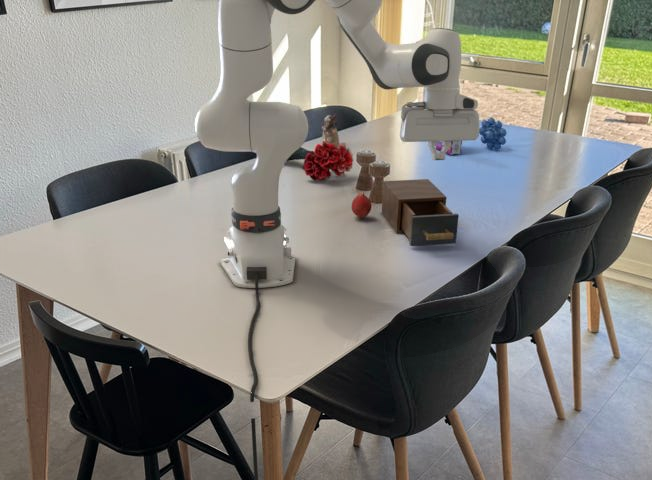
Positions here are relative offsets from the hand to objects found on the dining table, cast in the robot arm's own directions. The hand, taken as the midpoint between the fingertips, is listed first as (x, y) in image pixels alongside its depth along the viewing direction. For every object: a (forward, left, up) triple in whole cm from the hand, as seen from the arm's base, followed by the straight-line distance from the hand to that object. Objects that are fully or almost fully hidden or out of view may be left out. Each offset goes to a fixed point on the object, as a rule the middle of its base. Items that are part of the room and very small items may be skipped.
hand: (438, 160), depth 177 cm
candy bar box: (+91, -36, -23) cm, 100 cm away
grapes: (+91, -53, -23) cm, 108 cm away
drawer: (+4, 0, -22) cm, 23 cm away
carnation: (+72, +22, -23) cm, 78 cm away
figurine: (+105, +8, -23) cm, 108 cm away
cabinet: (+19, 0, -23) cm, 30 cm away
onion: (+24, +14, -23) cm, 36 cm away
